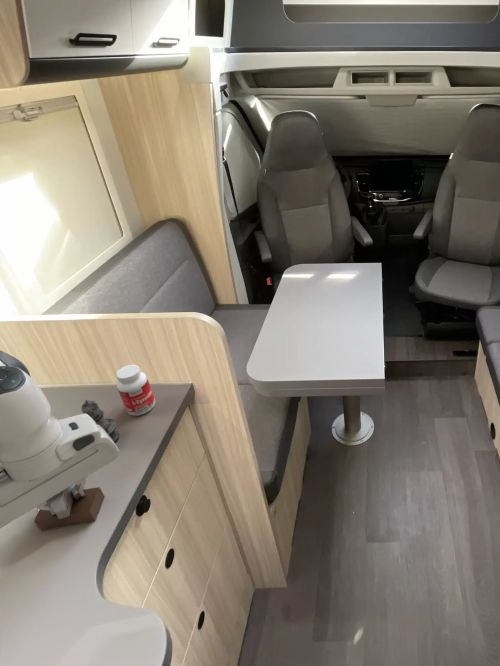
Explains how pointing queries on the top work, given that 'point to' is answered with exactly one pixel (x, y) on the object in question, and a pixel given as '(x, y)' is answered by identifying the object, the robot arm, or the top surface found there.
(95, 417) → the dark chess piece
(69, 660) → the top surface
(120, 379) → the pill bottle
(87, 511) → the brown block
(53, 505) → the grey rectangular block
